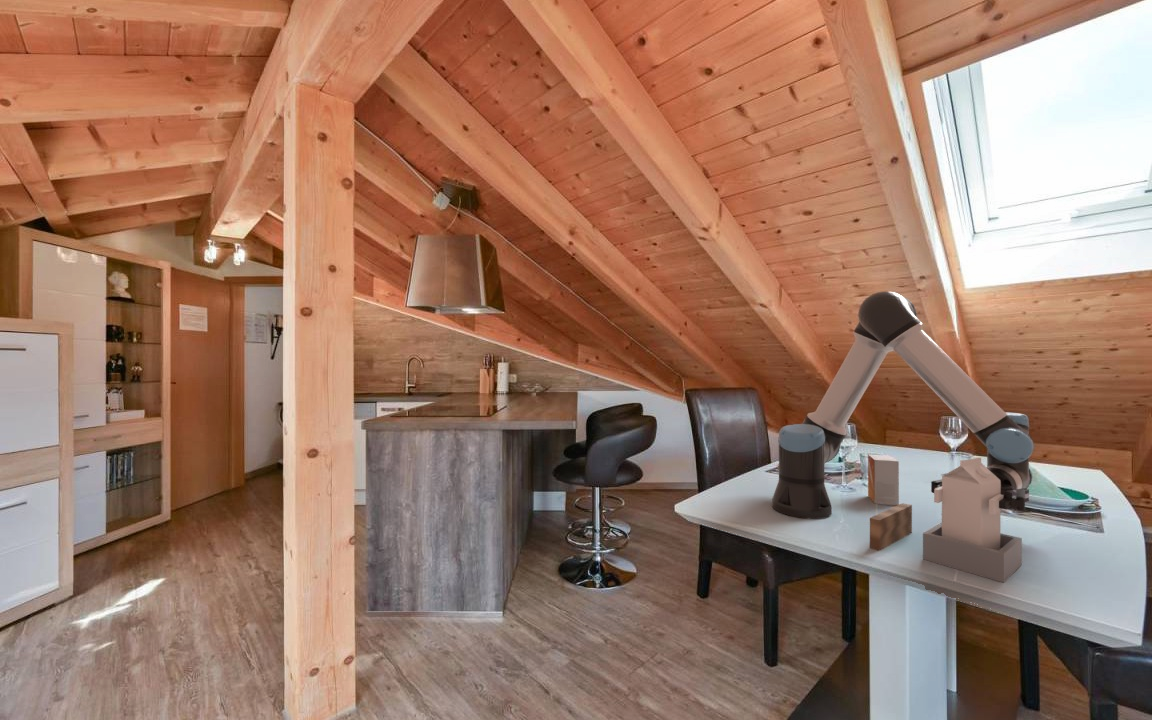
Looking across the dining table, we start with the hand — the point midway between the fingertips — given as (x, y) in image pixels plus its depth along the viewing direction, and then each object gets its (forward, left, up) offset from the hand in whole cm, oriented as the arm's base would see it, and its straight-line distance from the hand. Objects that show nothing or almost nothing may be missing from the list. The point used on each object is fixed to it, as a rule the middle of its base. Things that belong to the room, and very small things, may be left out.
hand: (962, 501), depth 96 cm
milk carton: (+3, +4, -11) cm, 12 cm away
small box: (0, +48, -14) cm, 50 cm away
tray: (+3, +4, -13) cm, 14 cm away
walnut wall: (-9, +13, -14) cm, 21 cm away
